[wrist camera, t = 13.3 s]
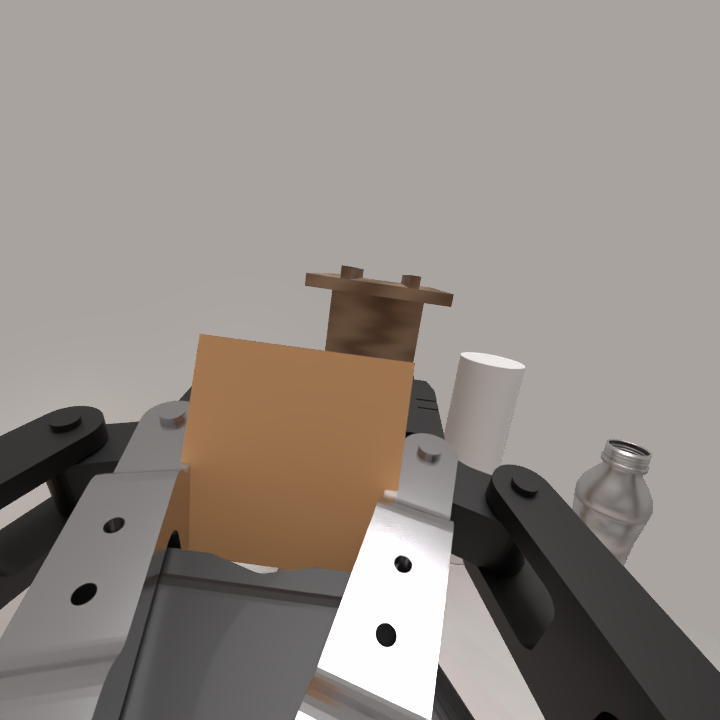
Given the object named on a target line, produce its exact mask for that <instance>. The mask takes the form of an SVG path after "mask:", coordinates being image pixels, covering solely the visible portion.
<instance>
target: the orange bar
mask: <svg viewBox="0 0 720 720" xmlns="http://www.w3.org/2000/svg"><path fill="white" fill-rule="evenodd" d="M414 365H415V363H411V362H404V361H396V360H389V359H382V358H374V357H367V356H359V355H352V354H344V353H337V352H330V351H322V350H315V349H307V348H300V347H292V346H285V345H278V344H270V343H262V342H256V341H248V340H241V339H233V338H226V337H218V336H211V335H204V334H200V336H199V343H198V349H197V356H196V363H195V370H194V376H193V383H192V389H191V396H190V403H189V409H188V416H187V423H186V429H185V436H184V443H183V449H182V456H181V462H184V463H190V501H189V550H191V551H198V552H205V553H212V554H214V555H217V556H219V557H221V558H223V559H226V560H228V561H233V562H240V563H248V564H255V565H262V566H270V567H277V568H285V569H292V570H299V569H308V568H316V567H317V568H324V569H331V570H339V571H346V572H352V571H353V569H354V566H355V563H356V560H357V558H358V555H359V552H360V549H361V547H362V544H363V541H364V538H365V536H366V533H367V530H368V527H369V525H370V522H371V519H372V516H373V514H374V511H375V508H376V506H377V503H378V500H379V498H380V496H382V497H383V495H384V492H385V490H391V491H398V488H399V481H400V473H401V465H402V458H403V450H404V442H405V434H406V427H407V419H408V411H409V404H410V396H411V388H412V381H413V372H414Z"/></svg>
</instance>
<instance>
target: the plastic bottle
mask: <svg viewBox="0 0 720 720" xmlns="http://www.w3.org/2000/svg"><path fill="white" fill-rule="evenodd" d="M651 455H652V454H651V452H649V451H648V450H646V449H645V448H643V447H641V446H638V445H636V444H633V443H630V442H626V441H623V440H618V439H609V440H607V442H606V445H605V448H604V451H603V452H602V454H601V459H602V460H603V462H602V463H601V464H598V465H596V466H595V467H593V468H591V469H589V470H588V471H586V472H585V473H584V474H582V476H581V477H580V478H579V480H578V481H577V483H576V488H575V493H574V502H573V509H572V510H573V511H574V512H575V513H576V514H577V515H578V516H579V518H580V519H581V520H582V521H583V522H584V523H585V524H586V525H587V526H588V528H589V529H590V530H591V531H592V532H593V533H594V534H595V535H596V536H597V537H598V539H599V540H600V541H601V542H602V543H603V544H604V545H605V546H606V547H607V549H608V550H609V551H610V552H611V553H612V554H613V555H614V556H615V557H616V558H617V560H618V561H619V562H620V563H621V564H622V565H623V566H624V564H625V562H626V560H627V557H628V555H629V554H630V551H631V549H632V547H633V545H634V543H635V541H636V540H637V538H638V536H639V535H640V533H641V531H642V530H643V528H644V527H645V525H646V524H647V522H648V520H649V519H650V517H651V514H652V513H653V500H652V497H651V495H650V492H649V489H648V487H647V485H646V483H645V481H644V479H643V475H644V474H647V473H648V470H649V467H648V466H649V463H650V460H651Z"/></svg>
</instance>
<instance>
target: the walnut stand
mask: <svg viewBox="0 0 720 720" xmlns="http://www.w3.org/2000/svg"><path fill="white" fill-rule="evenodd" d="M363 271H364V270H363V269H359V268H354V267H349V266H342V268H341V275H339V274H322V273H321V274H320V273H306V282H305V286H311V287H318V288H325V289H332V297H331V306H330V314H329V322H328V331H327V339H326V347H325V351H330V352H337V353H344V354H352V355H359V356H367V357H374V358H382V359H389V360H396V361H404V362H411V363H413V361H414V355H415V349H416V343H417V338H418V332H419V327H420V321H421V316H422V310H423V305H424V303H428V304H435V305H442V306H449V307H451V305H452V300H453V294H450V293H447V292H443V291H440V290H437V289H433V288H429V287H422V286H420V280H421V277H419V276H412V275H403V276H402V281H401V283H395V282H387V281H381V280H374V279H366V278H363ZM291 570H292V569H285V568H279V569H278V571H277V572H283V571H291Z"/></svg>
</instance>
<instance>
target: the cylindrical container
mask: <svg viewBox="0 0 720 720" xmlns="http://www.w3.org/2000/svg"><path fill="white" fill-rule="evenodd" d="M524 369H525V366H524V365H523V364H521V363H519V362H516V361H514V360H511V359H507V358H504V357H499V356H495V355H490V354H484V353H474V352H464V353H461V356H460V361H459V365H458V371H457V375H456V380H455V385H454V389H453V394H452V400H451V404H450V409H449V413H448V418H447V423H446V428H445V433H444V438H445V441H447V442H448V443H449V444H450V445H451V446H452V447H453V448H454V449H455V451H456V453H457V456H458V460H459V461H460V462H462V463H463V464H465V465H467V466H469V467H471V468H474V469H476V470H479V471H482V472H484V473H487V474H490V475H492V474H493V472H494V470H495V469H496V468H498V467H499V466H500V464H501V461H502V456H503V453H504V449H505V445H506V440H507V437H508V433H509V429H510V425H511V421H512V417H513V413H514V409H515V405H516V401H517V397H518V394H519V390H520V386H521V381H522V378H523V374H524ZM450 563H453V564H464V563H463V559H461V558H459V557H457V556H455V555H453V554H451V555H450Z"/></svg>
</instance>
